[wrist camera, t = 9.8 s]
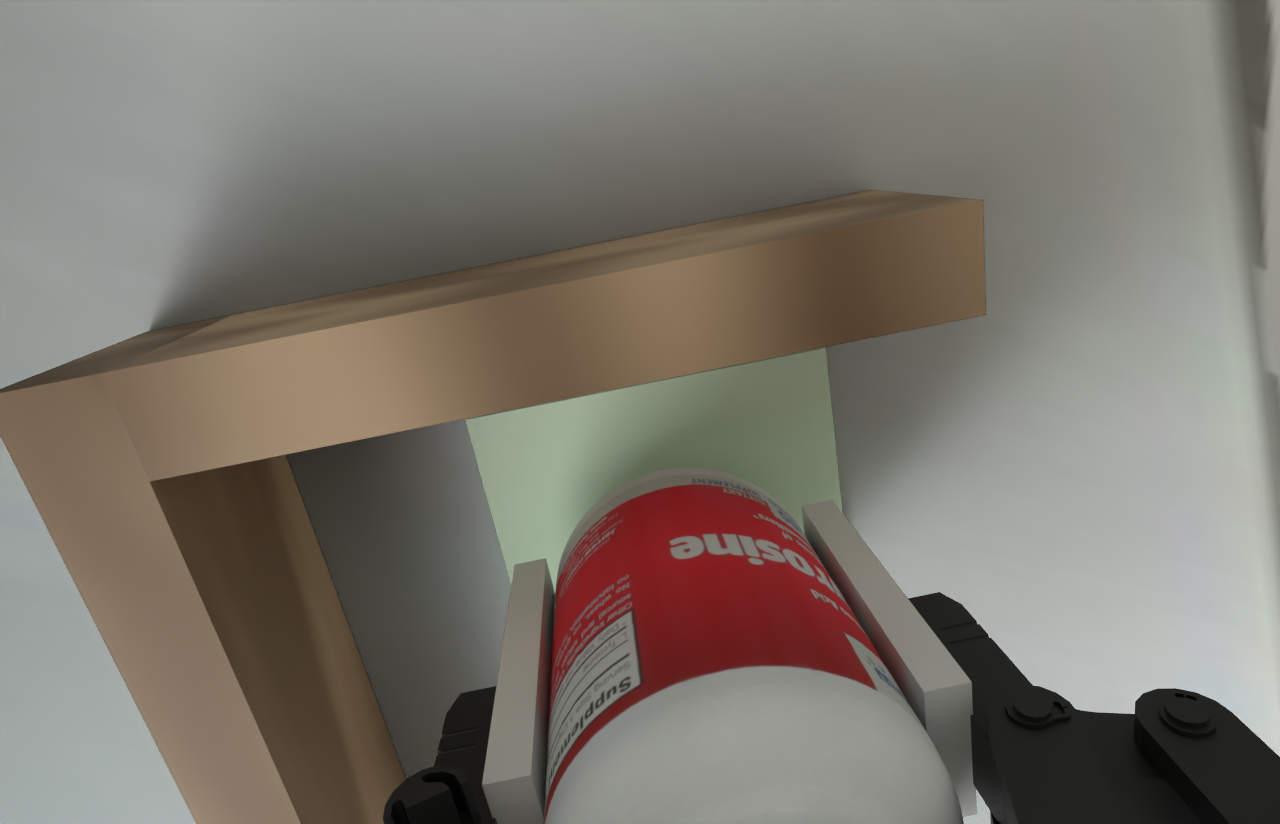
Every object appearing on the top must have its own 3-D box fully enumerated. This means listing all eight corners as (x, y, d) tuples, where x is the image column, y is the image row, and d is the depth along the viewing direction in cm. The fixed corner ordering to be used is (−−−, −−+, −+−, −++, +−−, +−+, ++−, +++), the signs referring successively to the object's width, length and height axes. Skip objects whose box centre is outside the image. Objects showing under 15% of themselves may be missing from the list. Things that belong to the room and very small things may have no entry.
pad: (546, 708, 21) (546, 713, 21) (466, 417, 18) (464, 420, 18) (854, 644, 21) (856, 648, 21) (823, 345, 18) (826, 348, 18)
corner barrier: (415, 980, 24) (376, 1180, 19) (146, 331, 17) (-20, 396, 12) (922, 872, 24) (1005, 1042, 20) (871, 190, 17) (983, 200, 12)
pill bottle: (852, 543, 18) (1222, 1041, 8) (703, 714, 20) (853, 1339, 9) (653, 408, 17) (787, 811, 6) (505, 605, 18) (413, 1209, 8)
